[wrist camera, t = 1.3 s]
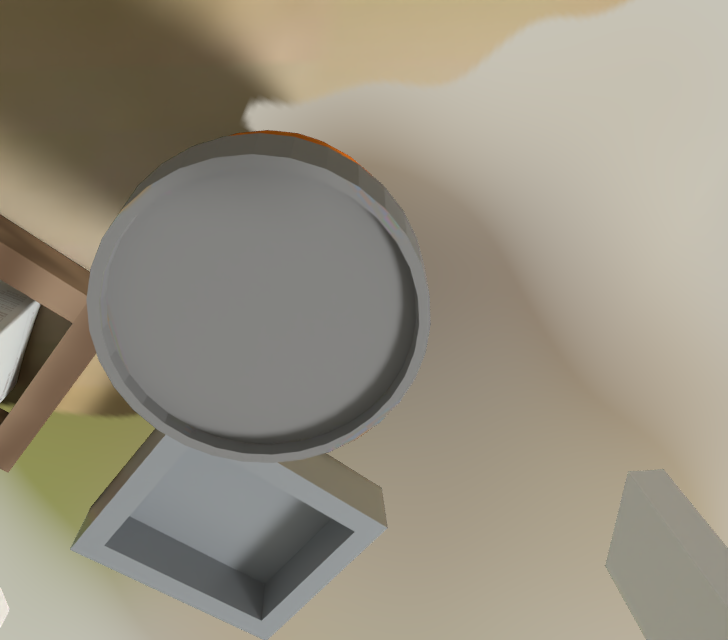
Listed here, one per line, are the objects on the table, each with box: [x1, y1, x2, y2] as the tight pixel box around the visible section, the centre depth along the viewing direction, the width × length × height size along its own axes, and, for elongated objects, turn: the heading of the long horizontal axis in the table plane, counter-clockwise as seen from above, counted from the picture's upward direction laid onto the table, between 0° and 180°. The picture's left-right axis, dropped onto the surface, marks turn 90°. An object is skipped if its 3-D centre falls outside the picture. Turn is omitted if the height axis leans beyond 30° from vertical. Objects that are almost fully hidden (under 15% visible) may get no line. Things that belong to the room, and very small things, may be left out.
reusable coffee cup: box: [86, 130, 431, 463], centre depth 27 cm, size 13×13×15 cm
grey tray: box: [70, 428, 388, 640], centre depth 41 cm, size 16×14×4 cm
